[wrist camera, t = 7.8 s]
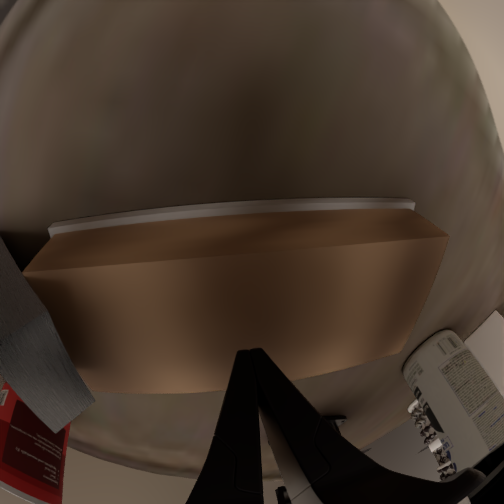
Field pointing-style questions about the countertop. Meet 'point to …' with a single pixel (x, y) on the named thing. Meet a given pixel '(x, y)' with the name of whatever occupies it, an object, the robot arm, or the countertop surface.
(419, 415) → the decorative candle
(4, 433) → the canned food
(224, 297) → the body
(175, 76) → the countertop surface
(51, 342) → the lever cap
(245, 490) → the robot arm
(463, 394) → the spray can
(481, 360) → the milk
